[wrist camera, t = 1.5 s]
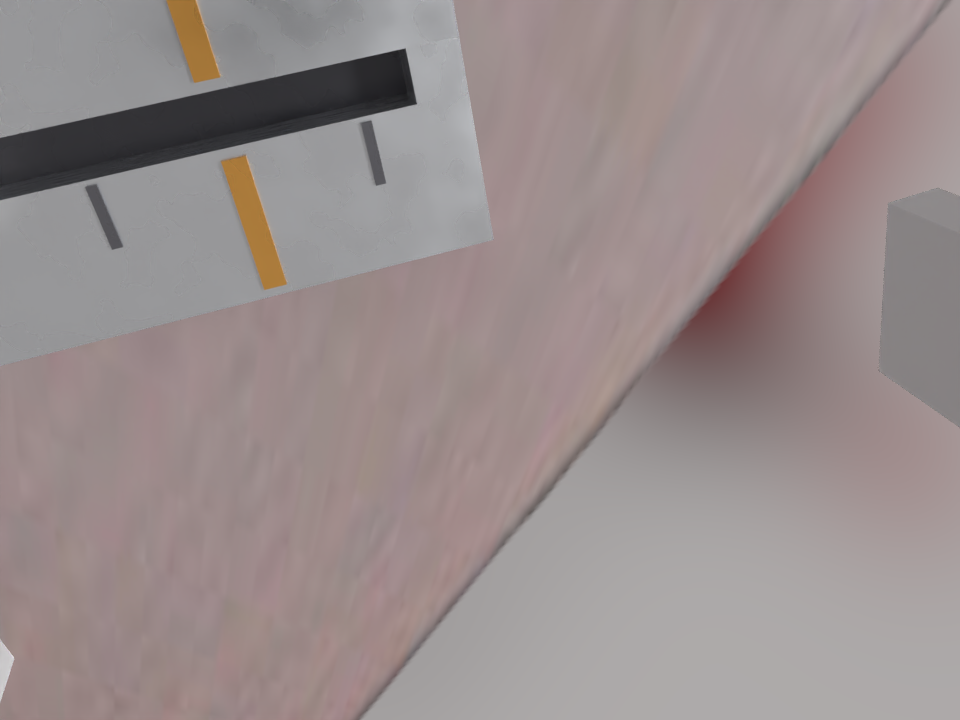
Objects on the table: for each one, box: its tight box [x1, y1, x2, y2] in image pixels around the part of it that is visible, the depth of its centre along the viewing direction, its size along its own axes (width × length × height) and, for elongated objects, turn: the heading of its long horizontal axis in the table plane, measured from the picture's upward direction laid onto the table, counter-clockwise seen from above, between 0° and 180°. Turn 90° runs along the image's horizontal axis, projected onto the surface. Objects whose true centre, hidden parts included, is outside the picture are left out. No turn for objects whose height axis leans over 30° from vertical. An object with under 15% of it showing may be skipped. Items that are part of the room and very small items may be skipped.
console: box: [0, 0, 494, 366], centre depth 29 cm, size 14×28×3 cm, turn 100°
